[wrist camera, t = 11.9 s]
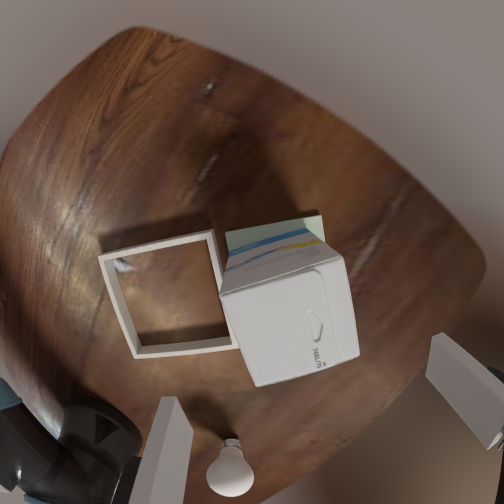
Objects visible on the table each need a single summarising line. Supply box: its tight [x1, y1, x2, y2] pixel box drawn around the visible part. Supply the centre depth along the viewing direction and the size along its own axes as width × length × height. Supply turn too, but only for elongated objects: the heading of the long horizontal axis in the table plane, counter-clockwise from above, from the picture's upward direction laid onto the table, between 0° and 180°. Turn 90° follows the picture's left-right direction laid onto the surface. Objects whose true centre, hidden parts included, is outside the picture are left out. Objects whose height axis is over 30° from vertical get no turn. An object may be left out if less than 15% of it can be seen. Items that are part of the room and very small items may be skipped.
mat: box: [225, 215, 325, 253], centre depth 29 cm, size 10×11×1 cm
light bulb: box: [207, 438, 254, 497], centre depth 31 cm, size 7×7×11 cm
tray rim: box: [98, 229, 239, 359], centre depth 29 cm, size 13×13×2 cm
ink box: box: [219, 228, 360, 387], centre depth 23 cm, size 8×8×12 cm
